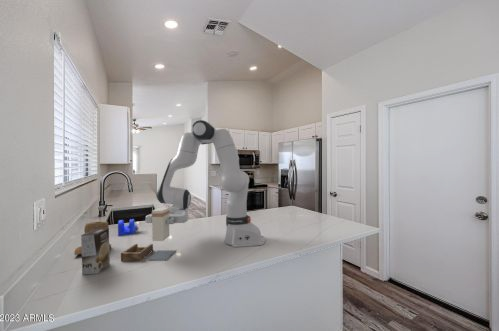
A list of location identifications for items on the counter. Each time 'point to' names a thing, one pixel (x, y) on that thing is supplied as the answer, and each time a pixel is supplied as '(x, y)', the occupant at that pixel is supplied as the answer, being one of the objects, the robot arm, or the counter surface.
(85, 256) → the coffee box
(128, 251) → the holder
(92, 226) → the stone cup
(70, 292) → the counter surface
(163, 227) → the striped white pillar
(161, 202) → the robot arm
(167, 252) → the mat
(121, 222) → the bracket
